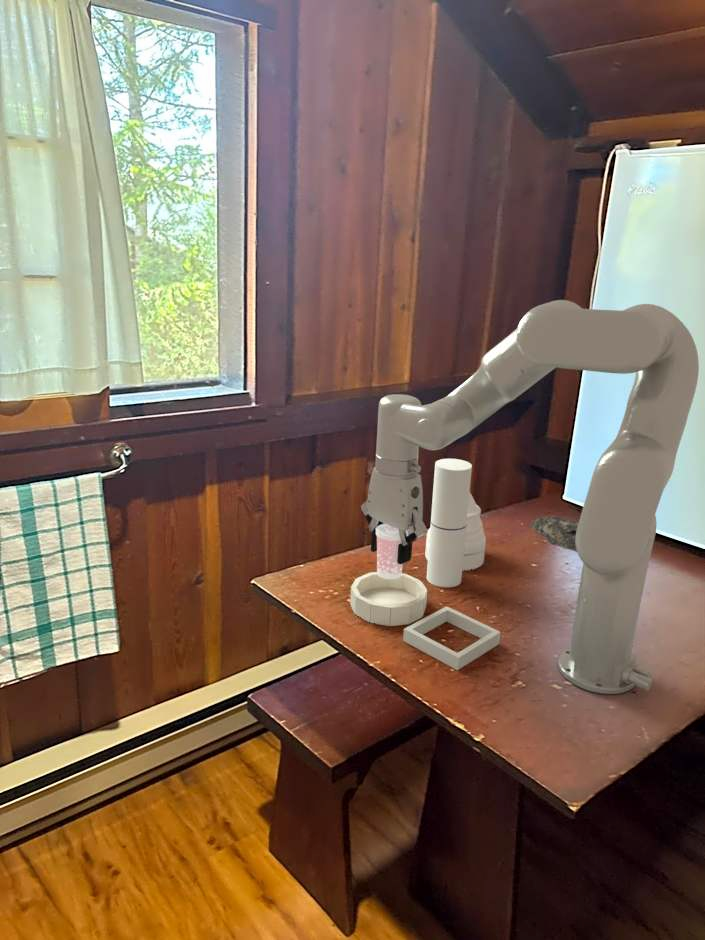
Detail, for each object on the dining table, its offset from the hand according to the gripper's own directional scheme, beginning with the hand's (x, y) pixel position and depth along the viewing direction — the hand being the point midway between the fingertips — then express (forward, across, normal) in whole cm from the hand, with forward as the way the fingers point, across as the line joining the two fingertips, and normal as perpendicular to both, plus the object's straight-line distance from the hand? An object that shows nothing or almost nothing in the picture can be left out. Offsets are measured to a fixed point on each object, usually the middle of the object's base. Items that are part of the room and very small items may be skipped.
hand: (390, 554), depth 140 cm
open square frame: (+11, -16, +1) cm, 19 cm away
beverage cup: (+4, 0, 0) cm, 4 cm away
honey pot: (+11, +5, -27) cm, 30 cm away
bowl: (+11, 0, 0) cm, 11 cm away
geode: (+11, -6, -57) cm, 58 cm away
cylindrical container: (+11, 0, -17) cm, 20 cm away
